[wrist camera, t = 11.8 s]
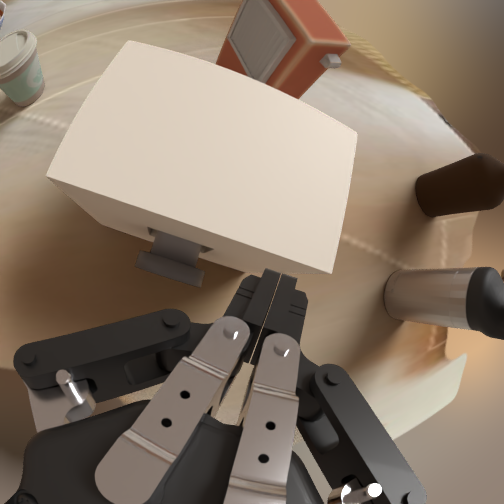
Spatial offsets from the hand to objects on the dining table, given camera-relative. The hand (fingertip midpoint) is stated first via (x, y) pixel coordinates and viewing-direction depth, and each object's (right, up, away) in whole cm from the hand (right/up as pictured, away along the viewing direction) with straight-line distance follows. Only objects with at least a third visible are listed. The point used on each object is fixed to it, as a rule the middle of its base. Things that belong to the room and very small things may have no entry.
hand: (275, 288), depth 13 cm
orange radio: (-3, +25, +27) cm, 37 cm away
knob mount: (-9, +8, +23) cm, 26 cm away
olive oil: (+37, +14, +39) cm, 56 cm away
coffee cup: (-36, +27, +16) cm, 48 cm away
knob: (-9, +3, +16) cm, 19 cm away
